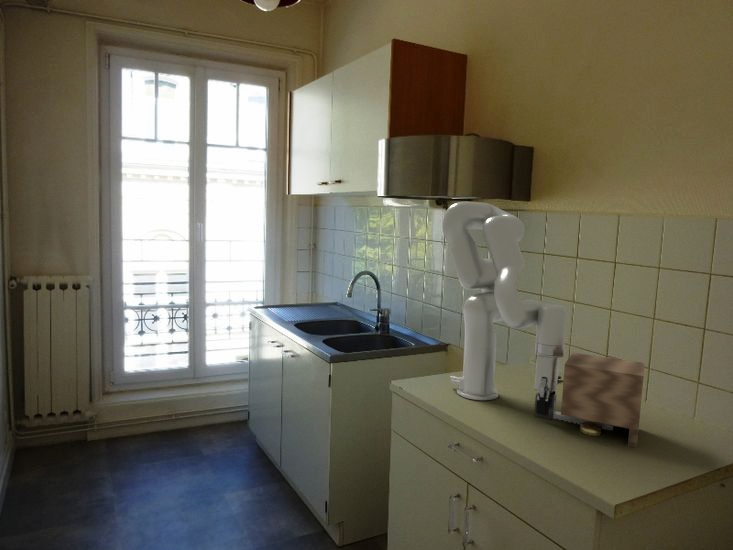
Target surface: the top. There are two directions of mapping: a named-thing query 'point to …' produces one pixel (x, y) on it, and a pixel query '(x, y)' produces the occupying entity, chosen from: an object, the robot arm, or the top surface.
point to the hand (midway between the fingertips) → (545, 409)
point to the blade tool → (557, 415)
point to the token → (590, 428)
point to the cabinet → (604, 391)
